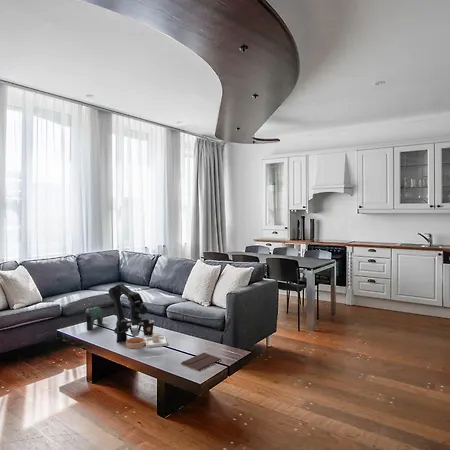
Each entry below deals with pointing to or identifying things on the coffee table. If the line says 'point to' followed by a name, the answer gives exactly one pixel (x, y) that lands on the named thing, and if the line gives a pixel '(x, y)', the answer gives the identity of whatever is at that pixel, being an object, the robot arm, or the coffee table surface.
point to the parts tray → (154, 344)
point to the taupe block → (155, 338)
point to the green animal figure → (94, 316)
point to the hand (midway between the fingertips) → (135, 334)
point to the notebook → (200, 361)
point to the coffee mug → (148, 328)
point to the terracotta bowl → (135, 342)
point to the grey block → (135, 331)
